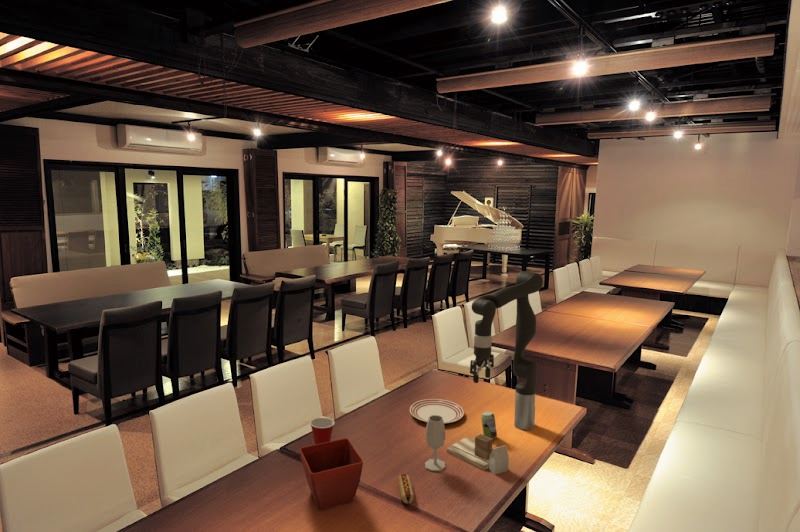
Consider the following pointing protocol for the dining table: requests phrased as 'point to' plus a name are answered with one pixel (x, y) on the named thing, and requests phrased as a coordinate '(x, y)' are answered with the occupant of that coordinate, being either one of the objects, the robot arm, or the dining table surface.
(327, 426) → the plastic cup
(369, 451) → the dining table surface
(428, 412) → the dinner plate
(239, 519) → the dining table surface
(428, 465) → the wineglass
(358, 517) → the dining table surface
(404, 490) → the food
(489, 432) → the beverage can
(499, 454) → the tea bag
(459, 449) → the board
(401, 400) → the dining table surface
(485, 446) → the block
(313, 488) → the plant pot
